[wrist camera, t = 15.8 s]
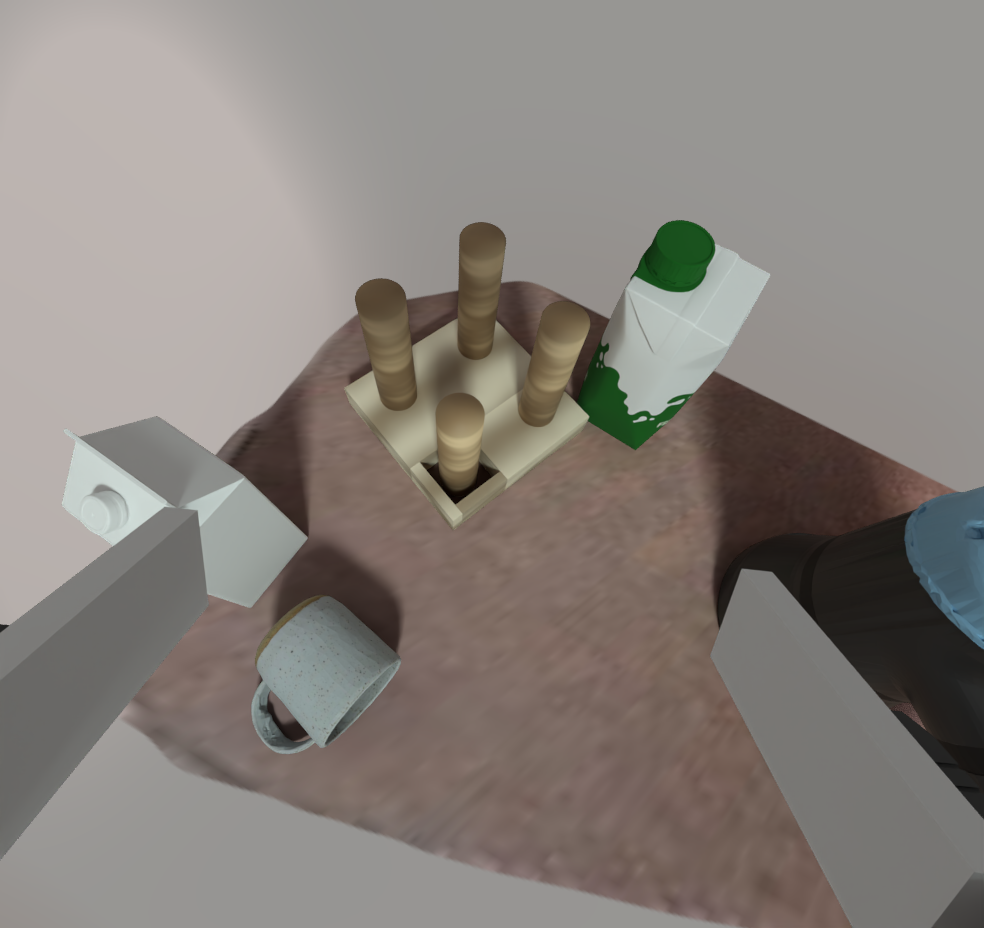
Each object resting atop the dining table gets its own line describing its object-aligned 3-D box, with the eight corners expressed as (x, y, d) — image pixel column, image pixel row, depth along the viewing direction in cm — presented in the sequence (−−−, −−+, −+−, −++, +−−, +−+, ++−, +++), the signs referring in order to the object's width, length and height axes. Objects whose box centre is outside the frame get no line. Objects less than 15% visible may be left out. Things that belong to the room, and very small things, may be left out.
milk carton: (246, 494, 45) (118, 381, 28) (309, 538, 44) (217, 449, 27) (186, 561, 43) (3, 482, 25) (251, 609, 42) (108, 562, 24)
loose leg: (484, 481, 47) (494, 418, 35) (455, 503, 46) (456, 445, 34) (460, 455, 48) (463, 384, 36) (432, 476, 47) (425, 410, 35)
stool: (581, 430, 50) (636, 329, 35) (452, 530, 46) (454, 461, 31) (478, 322, 54) (489, 191, 39) (350, 404, 49) (307, 289, 35)
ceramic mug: (335, 593, 43) (310, 579, 36) (407, 660, 41) (397, 659, 34) (234, 701, 39) (184, 710, 32) (309, 779, 38) (274, 805, 31)
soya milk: (603, 354, 54) (682, 187, 35) (679, 399, 52) (803, 250, 34) (560, 414, 51) (623, 266, 32) (640, 463, 49) (753, 338, 31)
